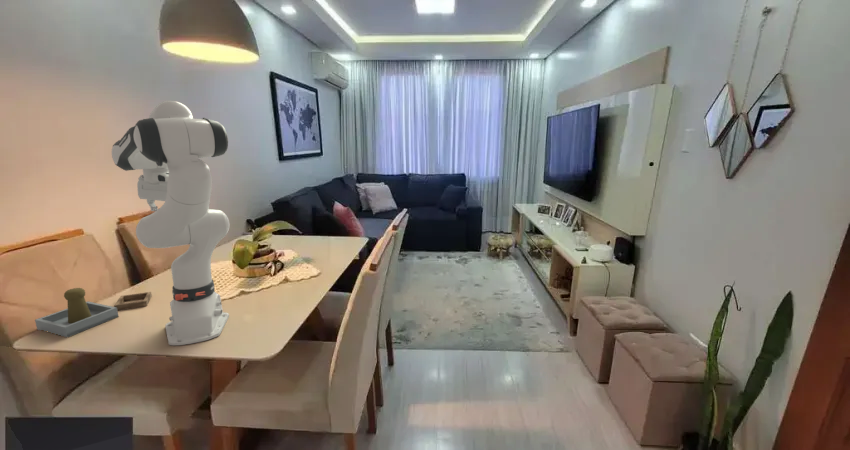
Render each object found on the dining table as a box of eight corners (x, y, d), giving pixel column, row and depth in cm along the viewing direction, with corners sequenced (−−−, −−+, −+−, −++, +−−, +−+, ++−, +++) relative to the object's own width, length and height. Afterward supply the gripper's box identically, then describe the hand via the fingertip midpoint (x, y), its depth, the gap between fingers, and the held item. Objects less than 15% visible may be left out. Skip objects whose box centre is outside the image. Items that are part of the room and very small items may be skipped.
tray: (118, 316, 131) (116, 307, 130) (67, 337, 117) (65, 327, 116) (89, 310, 135) (88, 301, 135) (37, 329, 122) (34, 319, 121)
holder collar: (146, 306, 139) (146, 301, 139) (114, 310, 135) (113, 305, 135) (151, 296, 148) (151, 291, 147) (121, 300, 144) (120, 295, 143)
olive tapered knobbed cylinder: (78, 324, 123) (71, 293, 121) (63, 322, 124) (56, 292, 122) (96, 316, 129) (90, 286, 127) (81, 314, 130) (75, 285, 127)
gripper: (129, 175, 139) (135, 211, 142) (170, 177, 133) (175, 215, 136) (146, 173, 145) (152, 208, 148) (186, 176, 139) (190, 212, 142)
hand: (163, 211), depth 142 cm, fingers open, 8 cm apart
